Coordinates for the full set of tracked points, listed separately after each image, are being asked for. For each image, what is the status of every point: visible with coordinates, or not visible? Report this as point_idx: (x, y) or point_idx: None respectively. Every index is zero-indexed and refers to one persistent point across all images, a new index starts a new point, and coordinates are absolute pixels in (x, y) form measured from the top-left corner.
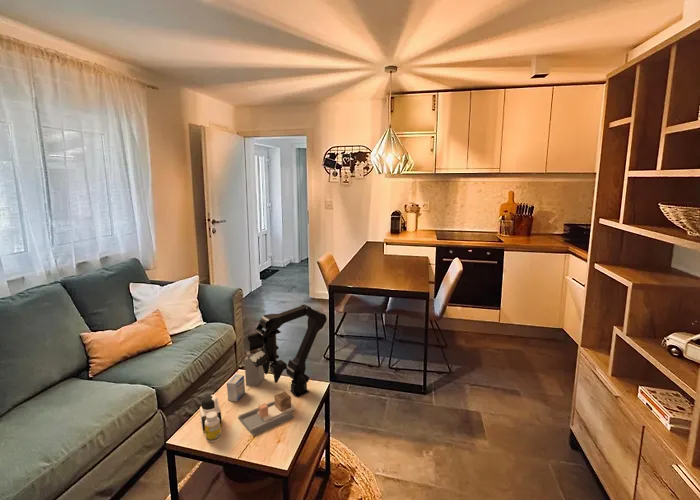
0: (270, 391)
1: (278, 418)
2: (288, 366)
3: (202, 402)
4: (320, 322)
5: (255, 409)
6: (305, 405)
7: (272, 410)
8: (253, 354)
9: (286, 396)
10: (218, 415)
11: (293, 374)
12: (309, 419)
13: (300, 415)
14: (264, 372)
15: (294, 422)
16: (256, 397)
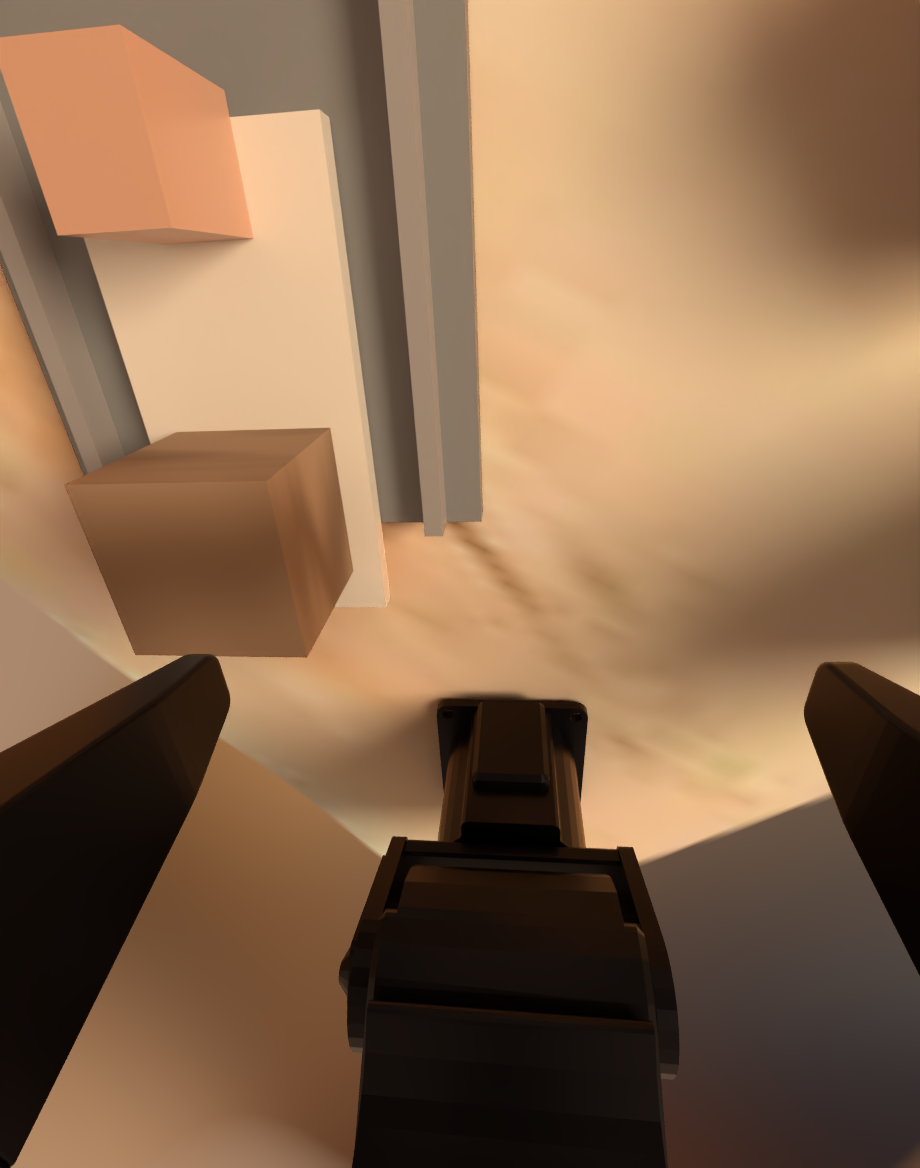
0: (760, 553)
1: (43, 338)
2: (605, 1080)
3: None
4: None
5: (386, 94)
6: (274, 686)
7: (250, 352)
8: None
9: (158, 613)
10: None
11: (385, 971)
12: (49, 610)
13: None
14: (891, 688)
15: (40, 482)
16: (798, 334)
